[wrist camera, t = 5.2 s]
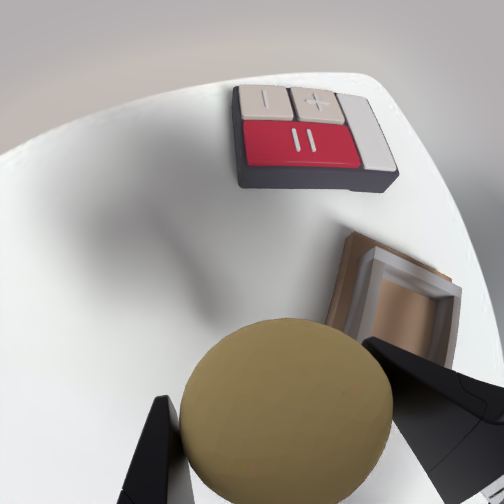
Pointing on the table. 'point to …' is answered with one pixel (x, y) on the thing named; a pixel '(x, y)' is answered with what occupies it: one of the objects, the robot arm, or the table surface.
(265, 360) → the light bulb
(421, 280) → the square frame
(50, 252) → the table surface
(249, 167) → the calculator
